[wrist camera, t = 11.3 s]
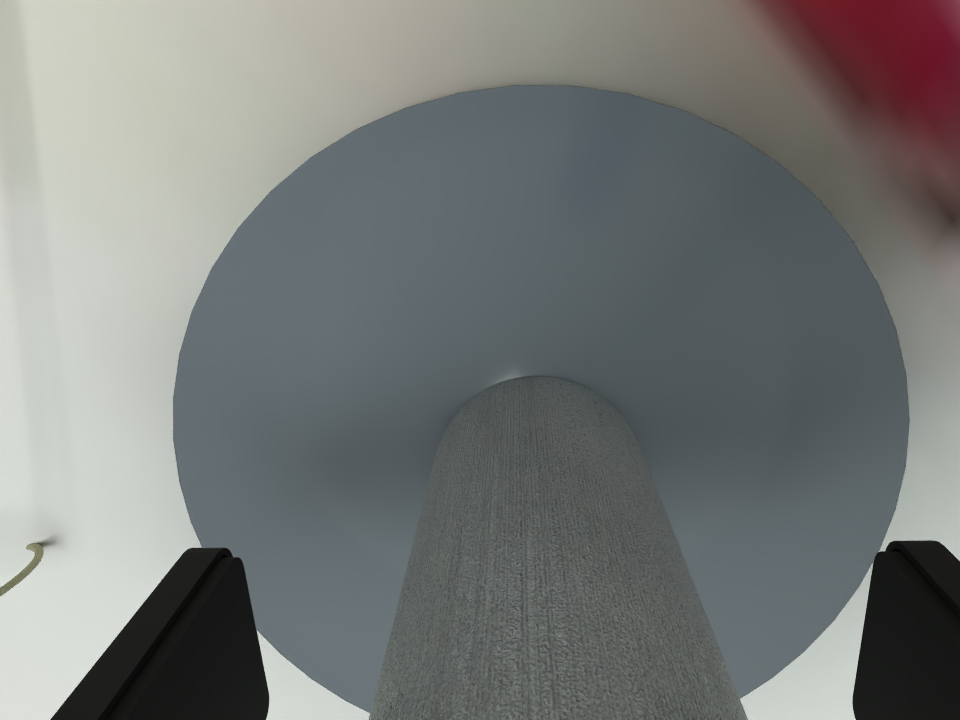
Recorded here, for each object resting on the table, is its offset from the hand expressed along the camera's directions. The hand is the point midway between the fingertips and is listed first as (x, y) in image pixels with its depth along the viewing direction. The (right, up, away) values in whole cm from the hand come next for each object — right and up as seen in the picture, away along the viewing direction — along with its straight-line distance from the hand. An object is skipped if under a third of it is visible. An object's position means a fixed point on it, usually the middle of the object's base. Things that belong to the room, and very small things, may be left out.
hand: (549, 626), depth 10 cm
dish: (0, +2, +6) cm, 6 cm away
